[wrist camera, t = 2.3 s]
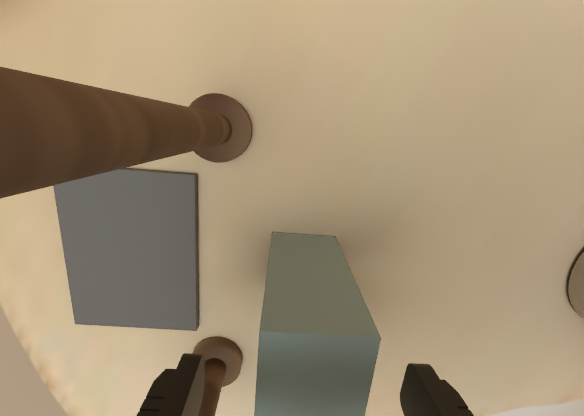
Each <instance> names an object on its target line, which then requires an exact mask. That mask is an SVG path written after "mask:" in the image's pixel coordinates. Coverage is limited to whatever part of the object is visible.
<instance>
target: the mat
mask: <svg viewBox="0 0 584 416" xmlns="http://www.w3.org/2000/svg"><path fill="white" fill-rule="evenodd" d="M53 186H54V193H55V199H56V206H57V212H58V218H59V225H60V231H61V237H62V244H63V250H64V257H65V263H66V269H67V276H68V282H69V288H70V295H71V301H72V307H73V314H74V320H75V324H83V325H101V326H119V327H137V328H155V329H174V330H192V331H197V328H198V326H199V291H198V194H197V174H194V173H181V172H169V171H156V170H144V169H131V168H122V169H118V170H113V171H109V172H105V173H101V174H97V175H93V176H89V177H85V178H81V179H77V180H73V181H69V182H65V183H61V184H57V185H53Z"/></svg>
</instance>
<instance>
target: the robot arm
mask: <svg viewBox="0 0 584 416" xmlns="http://www.w3.org/2000/svg"><path fill="white" fill-rule="evenodd" d="M568 293H569V298H570V302H571V304H572V306H573V308H574V310H575V311H576V312H577V313H578V314H579V315H580V316H581V317H583V318H584V252H583V253H582V254H581V256H580V257H579V258H578V260H577V262H576V264H575V266H574V268H573V269H572V272H571V276H570V279H569V288H568ZM203 393H204V354H185V353H184V354H183V355H182V357H181V360H180V362H179V364H178V367H177V369H165V370H164V371H163V372H162V373H161V374H160V375H159V376H158V377H157V378H156V380H155V381H154V382H153V384H152V386H151V388H150V390H149V392H148V394H147V396H146V399H145V400H144V402H143V404H142V406H141V408H140V412H138V414H137V416H198V414H199V410H200V407H201V403H202V399H203ZM400 402H401V407H402V410H403V413H404V415H405V416H474V415H473V414H472V412H471V411H470V410H468V406H467V405H466V403H465V402H464V400H463V399H462V397H461V396H460V394H459V393H458V392H457V391H456V390H455V389H454V388H453V387H452V386H451V385H450V384H449V383H447V382H446V381H445V380H440V379H439V377H438V376H437V374H436V373H435V371H434V369H433V368H432V367H431V366H430V365H429V364H411V363H410V364H408V366H407V368H406V372H405V376H404V380H403V384H402V388H401V392H400Z"/></svg>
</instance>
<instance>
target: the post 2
mask: <svg viewBox="0 0 584 416" xmlns="http://www.w3.org/2000/svg"><path fill="white" fill-rule="evenodd" d="M193 354H204V393H203V399H202V403H201V407H200V410H199V414H198V416H215V412H216V408H217V404H218V400H219V396H220V392H221V388H222V387H223V386H226V385H229V384H231V383H232V382H233V381H235V380H236V379H237V377H238V375H239V373H240V369H241V364H242V353H241V350H240V348H239V347H238V346H237V345H236V344H235V343H234V342H232V341H231V340H229V339H226V338H223V337H210V338H207V339H204V340H202V341H201V342H200V343H198V344H197V346H196V347H195V349H194V351H193Z"/></svg>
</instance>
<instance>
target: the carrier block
mask: <svg viewBox="0 0 584 416" xmlns="http://www.w3.org/2000/svg"><path fill="white" fill-rule="evenodd" d="M380 340H381V337H380V335H379V333H378V330H377V328H376V326H375V324H374V322H373V319H372V317H371V315H370V313H369V310H368V308H367V306H366V304H365V302H364V299H363V297H362V295H361V293H360V291H359V288H358V286H357V284H356V282H355V279H354V277H353V275H352V273H351V271H350V268H349V266H348V264H347V262H346V260H345V257H344V255H343V253H342V251H341V248H340V246H339V244H338V242H337V240H336V237H335V236H324V235H310V234H296V233H282V232H272V240H271V247H270V255H269V263H268V270H267V278H266V285H265V293H264V301H263V308H262V316H261V324H260V332H259V348H258V364H257V380H256V396H255V412H254V416H365V411H366V406H367V402H368V397H369V392H370V387H371V383H372V378H373V373H374V368H375V363H376V359H377V354H378V349H379V344H380Z"/></svg>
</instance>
